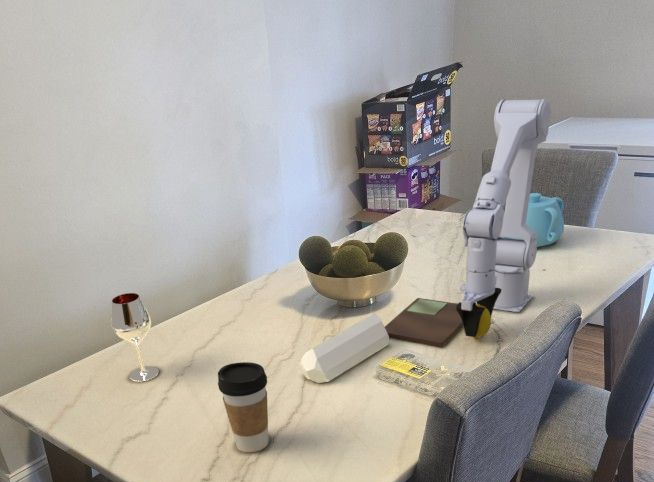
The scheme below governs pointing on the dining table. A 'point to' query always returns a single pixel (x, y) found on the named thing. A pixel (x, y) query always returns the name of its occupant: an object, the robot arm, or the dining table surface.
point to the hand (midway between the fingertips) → (477, 328)
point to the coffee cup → (246, 404)
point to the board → (426, 323)
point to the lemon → (483, 323)
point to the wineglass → (132, 328)
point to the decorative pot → (545, 218)
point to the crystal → (345, 350)
